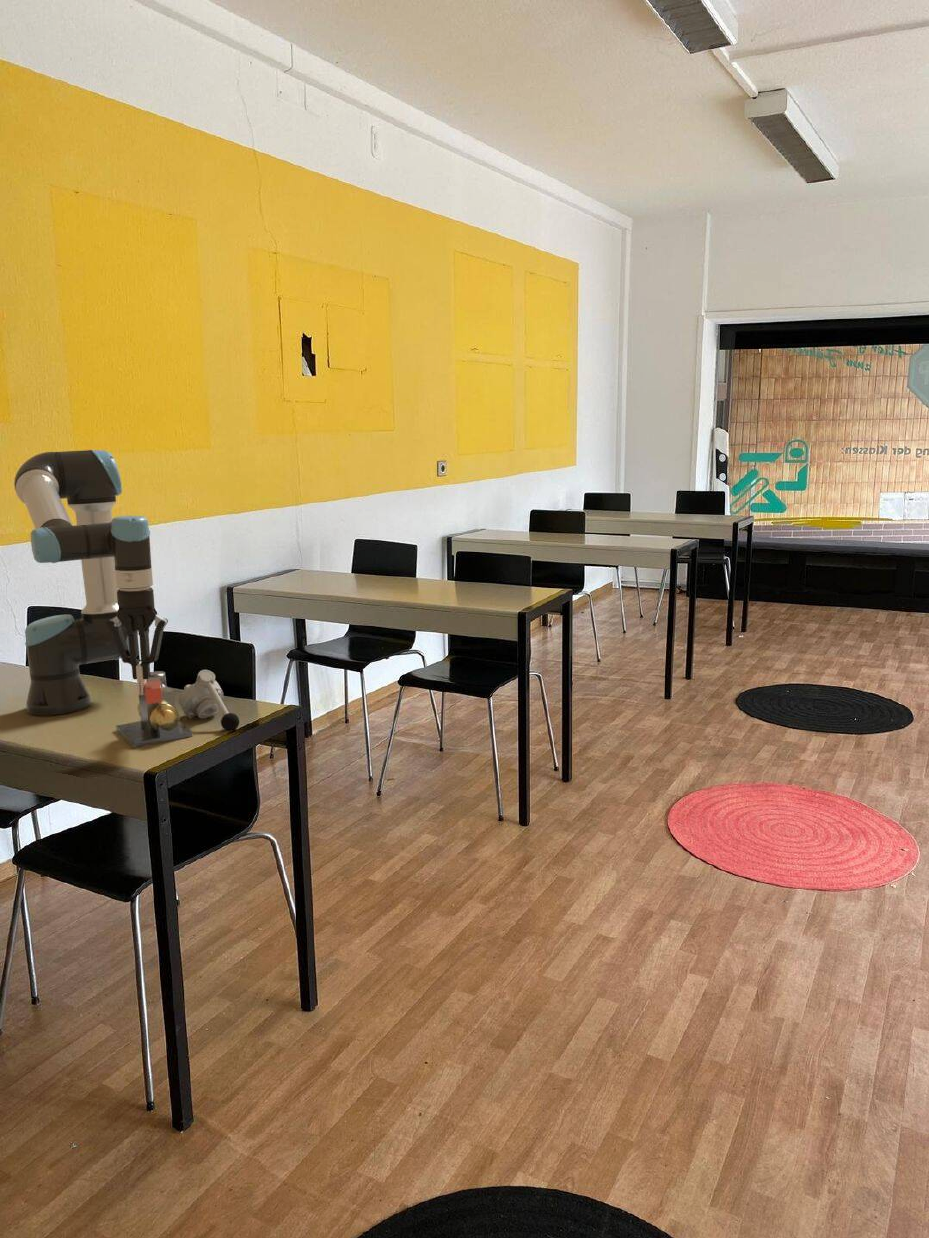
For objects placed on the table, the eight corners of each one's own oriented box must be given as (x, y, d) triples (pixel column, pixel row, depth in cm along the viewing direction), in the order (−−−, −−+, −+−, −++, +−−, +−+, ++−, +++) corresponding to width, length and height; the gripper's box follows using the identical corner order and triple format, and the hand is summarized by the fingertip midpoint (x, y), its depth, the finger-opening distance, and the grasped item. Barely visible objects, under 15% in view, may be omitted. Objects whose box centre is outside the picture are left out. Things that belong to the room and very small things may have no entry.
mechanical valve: (213, 696, 236) (222, 660, 226) (244, 752, 229) (255, 717, 219) (174, 708, 230) (182, 671, 220) (205, 765, 223) (214, 730, 212)
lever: (142, 704, 202) (141, 690, 202) (144, 685, 218) (143, 672, 217) (165, 701, 204) (164, 687, 203) (166, 683, 219) (165, 669, 218)
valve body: (116, 730, 221) (111, 685, 218) (171, 719, 228) (167, 675, 225) (134, 748, 207) (128, 700, 205) (192, 736, 214) (187, 689, 212)
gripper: (98, 591, 199) (107, 698, 204) (158, 590, 199) (166, 697, 204) (111, 585, 206) (120, 688, 211) (169, 585, 206) (176, 688, 211)
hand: (142, 693), depth 207 cm, fingers closed
